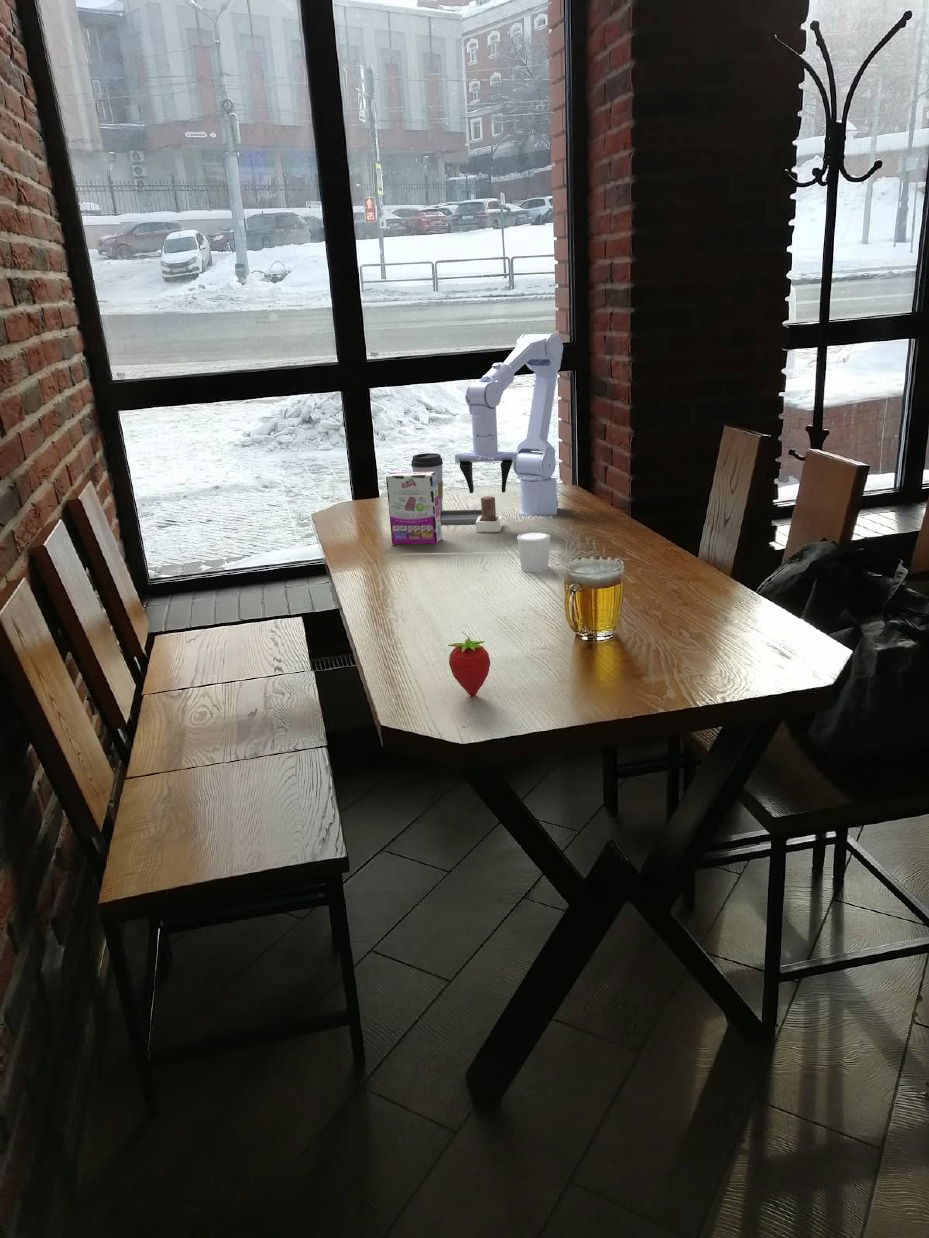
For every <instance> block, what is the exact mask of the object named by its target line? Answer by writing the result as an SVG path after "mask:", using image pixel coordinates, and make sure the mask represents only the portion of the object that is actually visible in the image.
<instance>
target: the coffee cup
mask: <svg viewBox="0 0 929 1238" xmlns="http://www.w3.org/2000/svg"><path fill="white" fill-rule="evenodd" d="M443 464H444V462H443V458H442V455H441V454H440V453H437V452H436V453H434V452H431V453H430V452H428V453H419V454H414V455H412V459H411V464H410V466H411V468H412V469H411V470H412V472H437V479H438V492H439V505H440V511H441V510H443V494H444V491H443V490H444V487H443V486H444V484H443V483H444V482H443V481H444V480H443Z"/></svg>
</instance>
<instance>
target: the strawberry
mask: <svg viewBox="0 0 929 1238" xmlns="http://www.w3.org/2000/svg"><path fill="white" fill-rule="evenodd" d="M461 633H462V634H463V635H465V636H466V637H467V639H465V641H464V642H454V643H452V644H451V643H450V644H448V645H447V646H448V647H454V648H453V649H452V650H451V652H450V653H449V657H448V659H449V660H448V664H449V668H450V670H451V673H452V675H453V677H454V678H455V680H456V681H457V683H458V684H459V685H460V687H462V688H463V689H464V691H465V692H466V694H468V695H469V696H471V697H474V696H476V695H477V694H478V693H479V690H480V689H481V687H482V686H483V684H484V683H485V681H486V679H487V677H488V675H489V671H490V666H491V660H490V654H489V652H488V651H487V650H486V649H485V646H482V645H481V644H483V643H485V640H482V641H481V640H480V641H475V640H471V638H470V637H469V636H468V635H467V634H466V633H465V632H464V631H461Z"/></svg>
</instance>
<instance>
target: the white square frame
mask: <svg viewBox="0 0 929 1238" xmlns="http://www.w3.org/2000/svg"><path fill="white" fill-rule="evenodd" d="M503 525H504V524H503V515H496V521H482V516H478V518H477V520H476V524H475V533H495V532H496V533H497V532H498V533H499V532H502V529H503Z"/></svg>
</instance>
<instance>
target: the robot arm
mask: <svg viewBox="0 0 929 1238" xmlns="http://www.w3.org/2000/svg"><path fill="white" fill-rule="evenodd" d="M560 337H561V336H559V334H557V333H555V332H551V333H531V334H530V333H523V334H521V335H520V336H519V338H518V339H516V344H515V348H514V349H513V350H512V351H511V353H509V355H508V356H507V358H506V359H505V360H504V361H503V362H495V363H493V364H492V365H491V368H490V369H489V370H488V371H487V372H486V373H485V374H484V375H482V377H481V379H479V381H473V382H472V383H470V385H468V387H467V389H466V390H465V391H466V393H465V395H464V398H465V402H466V404H467V406H468V412H469V414H470V415H471V427H472V429H471V430H472V445H473V446H472V447H473V452H472V451H471V452H465V453H463V452H462V453H461V452H460V453H455V455H454V461H455V462H454V463H455V464H459V469H460V471H461V472H462V474H463V476H464V478H465V480H466V481H465V482H466V483H467V486H468V490H469V494H474V489H475V488H474V480H473V479H474V478H473V463H484V462H485V463H489V462H491V463H492V462H500V471H501V473H500V475H501V493H506V487H507V482H508V477H509V474H510V471H511V467H512V469H513V472H514V474H516V475H517V479H519V481H520V482H519V483H520V503H521V505H520V509H519V512H518V515H519V516H546V515H547V516H550V515H552V516H553V515H557V512H558V508H559V499H558V481H557V478H556V477H552V476H553V474H554V472H555V470H556V464H557V463H556V449H555V446H553V445H552V444H551V443H550V442H549V441H548V437H549V433H550V432H549V431H550V424H551V421H552V412H553V407H554V405H553V404H554V399H555V398H554V397H555V392H556V387H557V379H558V372H559V371H560V369H561V364H562V360H563V351H564V345H563V343H562V340H561V339H562V338H560ZM524 365H526V366H527V368H528V369H529V370H530V371H533V373H534V374H535V380H534V388H533V394H532V400H531V408H530V412H529V413H530V414H529V420H528V425H527V426H528V427H527V432H526V433H527V434H526V438H524V439H523V440H522V441H521V442H519V443H518V444H517V447H516V451H499V449H498V448H499V447H498V443H499V442H498V426H497V425H498V421H497V406H499V405H500V403H501V399H502V396H503V394H504V391H506V389H507V388H508V387H509V386H511V384H512V383H513V382H514V380H515V373H516V372H517V371H519V370H520V369H521V368H522V367H523V366H524Z"/></svg>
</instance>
